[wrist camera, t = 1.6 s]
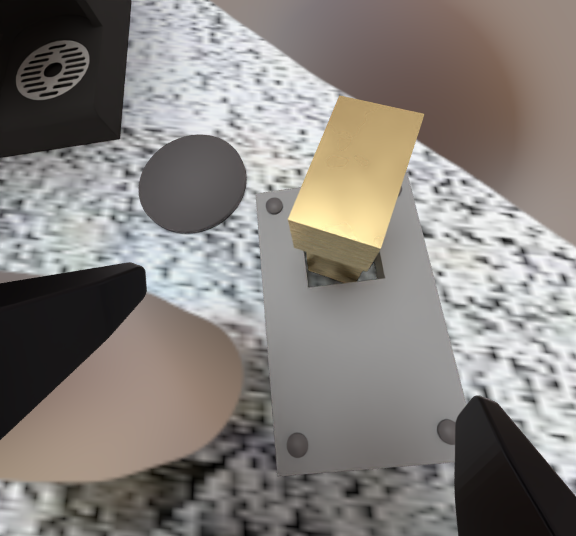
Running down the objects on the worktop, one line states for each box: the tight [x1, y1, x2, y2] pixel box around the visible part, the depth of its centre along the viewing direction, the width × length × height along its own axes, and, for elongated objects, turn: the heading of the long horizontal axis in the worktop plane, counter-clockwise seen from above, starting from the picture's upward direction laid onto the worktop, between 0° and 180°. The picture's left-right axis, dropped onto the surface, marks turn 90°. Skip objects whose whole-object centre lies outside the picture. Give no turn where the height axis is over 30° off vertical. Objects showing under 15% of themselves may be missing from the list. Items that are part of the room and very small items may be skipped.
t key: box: [288, 95, 424, 283], centre depth 16 cm, size 6×4×11 cm, turn 159°
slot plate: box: [256, 172, 466, 476], centre depth 19 cm, size 18×11×2 cm, turn 6°
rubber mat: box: [139, 135, 246, 233], centre depth 24 cm, size 9×9×1 cm
